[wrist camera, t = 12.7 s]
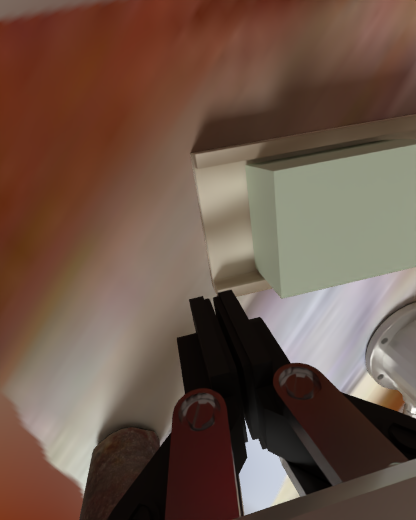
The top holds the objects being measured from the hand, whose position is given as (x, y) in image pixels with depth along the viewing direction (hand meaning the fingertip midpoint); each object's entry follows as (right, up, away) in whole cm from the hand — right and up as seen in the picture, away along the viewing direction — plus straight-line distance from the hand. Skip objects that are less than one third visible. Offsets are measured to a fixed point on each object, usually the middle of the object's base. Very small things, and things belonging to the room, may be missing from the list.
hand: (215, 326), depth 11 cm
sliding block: (+9, +7, +14) cm, 18 cm away
